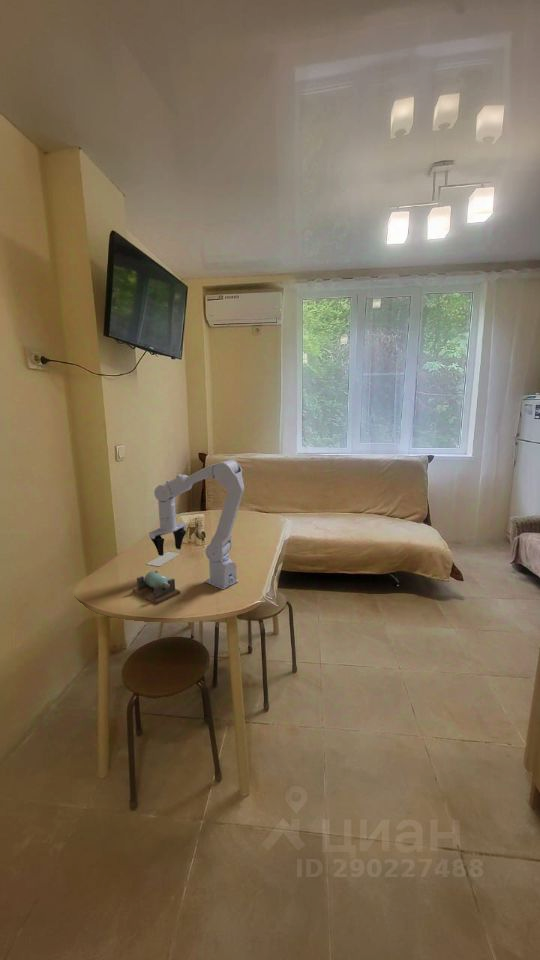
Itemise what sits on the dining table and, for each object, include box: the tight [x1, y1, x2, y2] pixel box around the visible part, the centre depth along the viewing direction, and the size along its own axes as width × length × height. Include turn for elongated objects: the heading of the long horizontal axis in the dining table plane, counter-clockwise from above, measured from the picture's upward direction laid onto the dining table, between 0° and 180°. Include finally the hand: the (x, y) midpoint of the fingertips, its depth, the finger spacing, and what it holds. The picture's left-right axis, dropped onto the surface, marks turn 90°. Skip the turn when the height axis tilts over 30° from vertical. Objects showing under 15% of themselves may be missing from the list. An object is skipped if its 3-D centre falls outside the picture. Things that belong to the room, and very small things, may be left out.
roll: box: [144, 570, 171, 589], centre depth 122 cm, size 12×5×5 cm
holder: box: [132, 570, 181, 605], centre depth 122 cm, size 14×9×5 cm, turn 51°
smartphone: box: [145, 550, 182, 568], centre depth 151 cm, size 7×1×15 cm
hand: (169, 551), depth 134 cm, fingers open, 7 cm apart
